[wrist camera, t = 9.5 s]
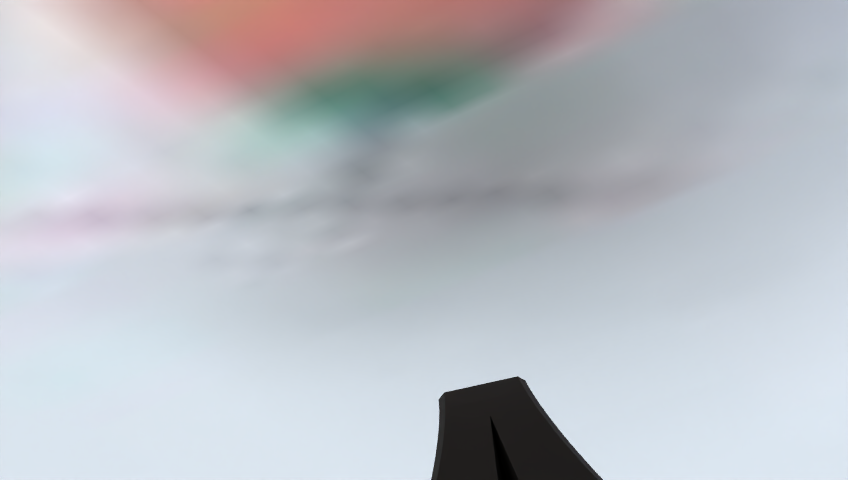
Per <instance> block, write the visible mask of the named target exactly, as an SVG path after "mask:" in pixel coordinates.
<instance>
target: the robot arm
mask: <svg viewBox="0 0 848 480" xmlns="http://www.w3.org/2000/svg"><path fill="white" fill-rule="evenodd" d="M439 409H440V414H439V433H438V442H437V450H436V457H435V463H434V468H433V473H432V479H431V480H603V479H602V478H601V477H600V476H599V475H598V474H597V473H596V472H595V471H594V470H593V469H592V468H591V466H590V465H589V464H588V463H587V462H586V461H585V460H584V458H583V457H582V456H581V455H580V454H579V453H578V452H577V451H576V449H575V448H574V447H573V446H572V445H571V444H570V443H569V441H568V440H567V439H566V438H565V437H564V435H563V434H562V433H561V432H560V430H559V429H558V428H557V427H556V425H555V424H554V423H553V421H552V420H551V419H550V418H549V416H548V415H547V414H546V412H545V411H544V409H543V408H542V407H541V405H540V404H539V402H538V401H537V399H536V398H535V396H534V395H533V393H532V392H531V390H530V388H529V387H528V385H527V383H526V381H525V380H523V379H521V378H520V377H513V378H508V379H504V380H499V381H495V382H490V383H486V384H481V385H477V386H472V387H468V388H463V389H458V390H454V391H449V392H445V393H444V394H443V395H442V396H441V397H440V399H439Z"/></svg>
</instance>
